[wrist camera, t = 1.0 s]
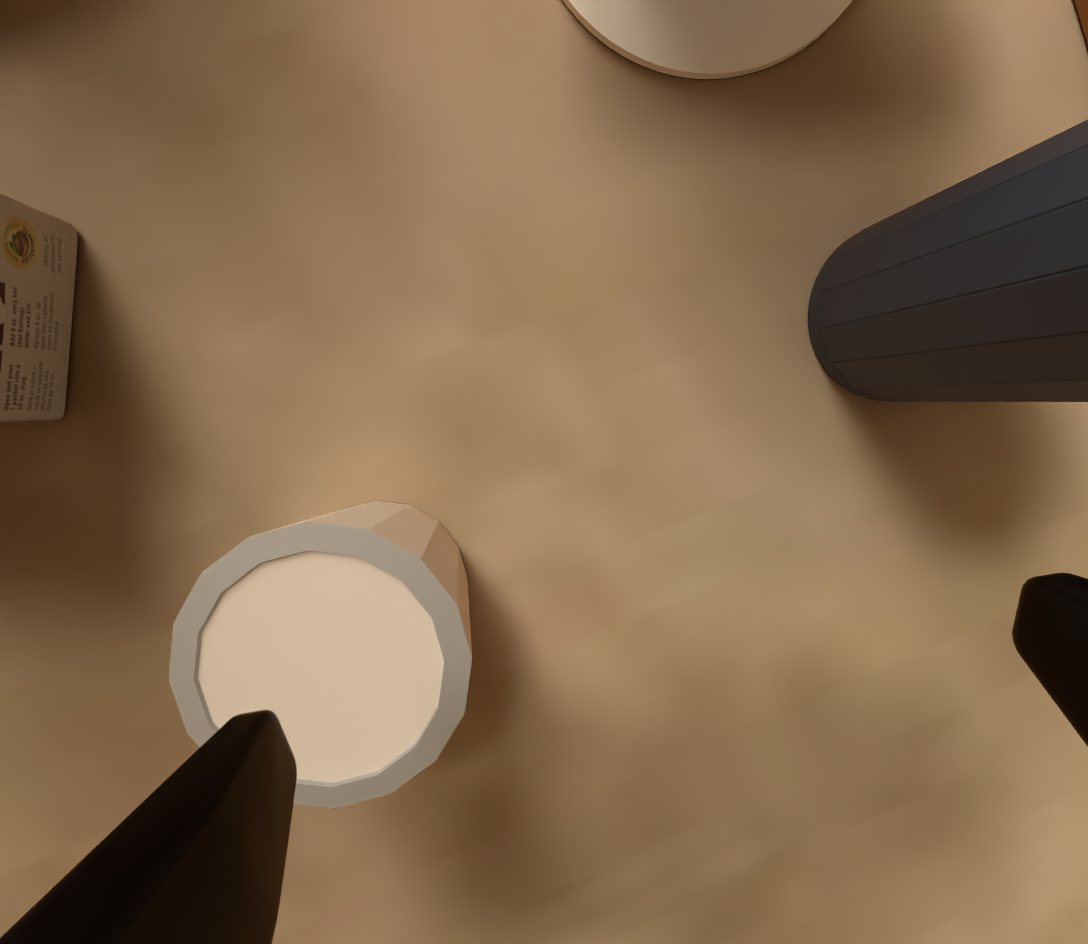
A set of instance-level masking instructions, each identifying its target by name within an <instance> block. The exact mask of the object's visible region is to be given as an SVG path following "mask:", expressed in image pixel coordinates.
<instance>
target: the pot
mask: <svg viewBox="0 0 1088 944" xmlns="http://www.w3.org/2000/svg"><path fill="white" fill-rule="evenodd" d="M808 320H809V331H810V337H811V341H812V344H813V347H814V350H815V352H816V354H817V356H818V359H819V360H820V362H821V363H822V365H823V367H824V368H825V369H826V371H827V372H828V373H829V374H830V375H831V377H832V378H834V379H835V380H836V381H837V382H838V383H839V384H840V385H842V386H843V387H845V388H846V389H848V390H849V391H851V392H853V393H855V394H857V395H860V396H862V397H865V398H868V399H874V400H879V401H939V402H1088V120H1086V121H1084V122H1082V123H1080V124H1078V125H1076V126H1074V127H1072V128H1070V129H1068V130H1066V131H1064V132H1062V133H1060V134H1057V135H1055V136H1053V137H1051V138H1049V139H1047V140H1045V141H1043V142H1041V143H1039V144H1037V145H1035V146H1033V147H1031V148H1029V149H1027V150H1025V151H1023V152H1021V153H1019V154H1017V155H1015V156H1013V157H1011V158H1008V159H1006V160H1004V161H1002V162H1000V163H998V164H996V165H994V166H992V167H990V168H988V169H986V170H984V171H982V172H980V173H978V174H976V175H974V176H972V177H970V178H968V179H966V180H964V181H962V182H959V183H957V184H955V185H953V186H951V187H949V188H947V189H945V190H943V191H941V192H939V193H937V194H935V195H933V196H931V197H929V198H927V199H925V200H923V201H921V202H919V203H917V204H915V205H913V206H910V207H908V208H906V209H904V210H902V211H900V212H898V213H896V214H894V215H892V216H890V217H888V218H886V219H884V220H882V221H880V222H878V223H876V224H874V225H872V226H870V227H868V228H866V229H864V230H862V231H861V232H859V233H857V234H855V235H854V236H852V237H851V238H849V239H848V240H847V241H845V242H844V243H843V244H842V245H841V246H839V247H838V248H837V249H836V250H835V251H834V252H833V254H832V255H831V256H830V257H829V258H828V260H827V261H826V263H825V264H824V266H823V267H822V269H821V271H820V273H819V275H818V277H817V279H816V281H815V284H814V287H813V290H812V293H811V298H810V302H809V312H808Z"/></svg>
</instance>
